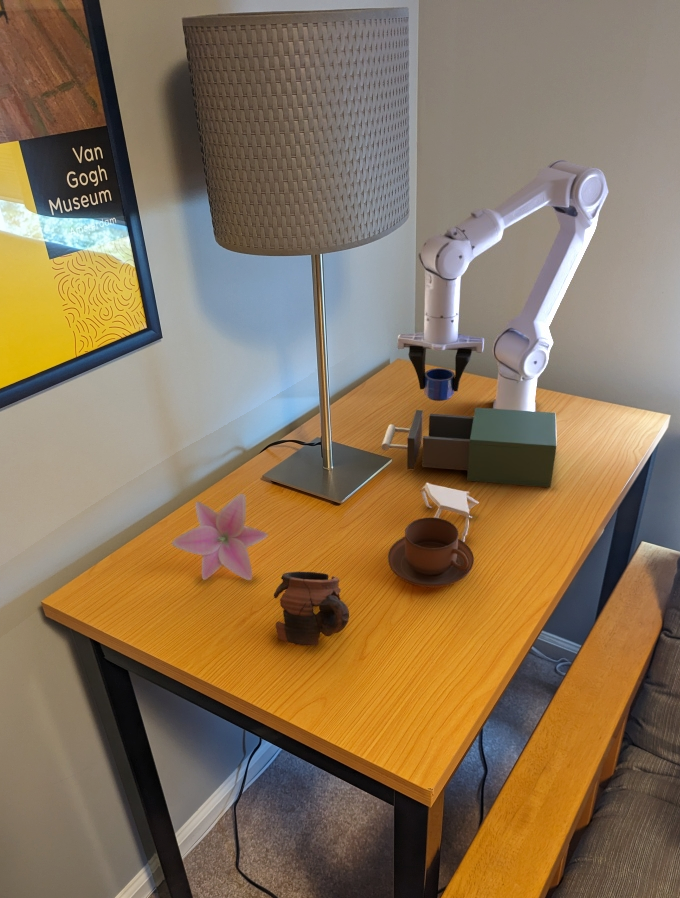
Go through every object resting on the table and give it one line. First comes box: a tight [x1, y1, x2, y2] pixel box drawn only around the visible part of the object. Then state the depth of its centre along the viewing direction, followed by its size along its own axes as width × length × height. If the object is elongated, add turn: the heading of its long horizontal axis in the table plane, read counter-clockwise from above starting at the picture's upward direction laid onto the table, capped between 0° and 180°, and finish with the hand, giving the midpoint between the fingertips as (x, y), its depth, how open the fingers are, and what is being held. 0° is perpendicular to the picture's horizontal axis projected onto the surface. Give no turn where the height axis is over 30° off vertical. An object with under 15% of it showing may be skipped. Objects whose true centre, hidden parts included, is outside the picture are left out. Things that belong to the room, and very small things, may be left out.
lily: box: [171, 493, 269, 581], centre depth 105 cm, size 12×12×10 cm
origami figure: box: [419, 482, 480, 543], centre depth 113 cm, size 12×8×5 cm
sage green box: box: [466, 407, 558, 488], centre depth 125 cm, size 14×12×8 cm
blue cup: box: [423, 367, 455, 402], centre depth 131 cm, size 5×5×4 cm
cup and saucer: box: [387, 516, 475, 588], centre depth 103 cm, size 12×12×6 cm
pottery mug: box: [273, 571, 350, 647], centre depth 95 cm, size 12×10×8 cm
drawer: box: [380, 409, 474, 471], centre depth 127 cm, size 17×10×6 cm, turn 79°
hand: (439, 387), depth 131 cm, fingers closed on blue cup, 5 cm apart
